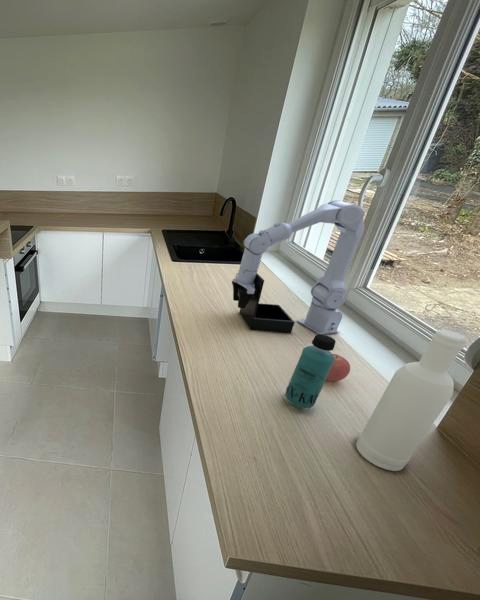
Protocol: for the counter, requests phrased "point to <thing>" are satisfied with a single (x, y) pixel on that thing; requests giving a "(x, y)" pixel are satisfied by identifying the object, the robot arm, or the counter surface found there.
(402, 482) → the counter surface
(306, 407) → the beverage bottle
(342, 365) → the apple
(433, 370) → the bottle
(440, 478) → the counter surface
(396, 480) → the counter surface
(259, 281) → the lid
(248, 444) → the counter surface
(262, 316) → the black square box
